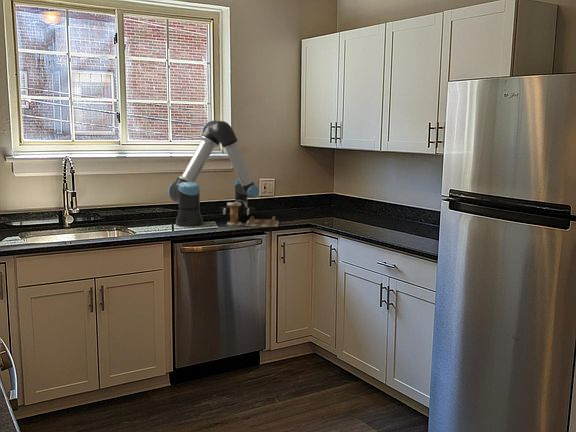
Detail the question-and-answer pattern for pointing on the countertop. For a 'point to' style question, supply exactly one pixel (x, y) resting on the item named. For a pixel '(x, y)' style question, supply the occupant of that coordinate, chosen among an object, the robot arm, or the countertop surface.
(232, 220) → the bobbin
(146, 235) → the countertop surface
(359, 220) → the countertop surface
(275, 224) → the board
